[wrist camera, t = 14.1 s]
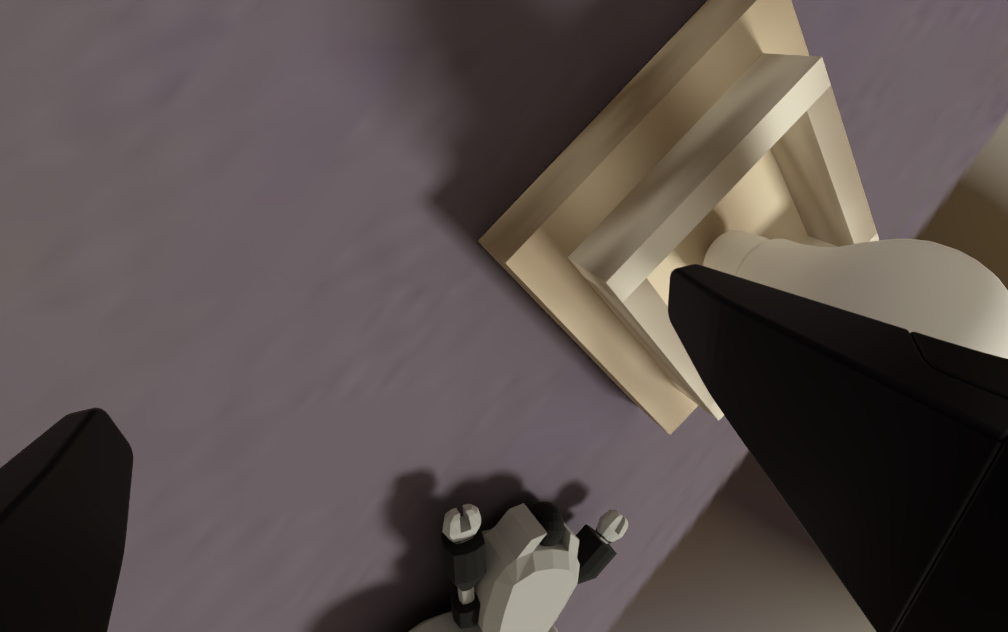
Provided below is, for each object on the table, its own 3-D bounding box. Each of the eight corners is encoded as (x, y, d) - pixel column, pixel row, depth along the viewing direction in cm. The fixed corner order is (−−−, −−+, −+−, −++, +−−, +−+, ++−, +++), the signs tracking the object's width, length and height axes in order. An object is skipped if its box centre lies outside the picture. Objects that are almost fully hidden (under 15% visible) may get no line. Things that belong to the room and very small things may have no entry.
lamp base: (638, 407, 31) (705, 466, 27) (477, 241, 22) (539, 290, 18) (822, 216, 31) (917, 246, 26) (729, -23, 22) (847, -32, 18)
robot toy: (420, 464, 27) (323, 715, 30) (458, 527, 23) (343, 806, 26) (607, 480, 34) (514, 683, 37) (660, 530, 30) (551, 753, 33)
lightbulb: (681, 342, 26) (923, 513, 17) (634, 244, 22) (908, 394, 14) (782, 259, 26) (1070, 383, 18) (751, 149, 23) (1094, 235, 14)
